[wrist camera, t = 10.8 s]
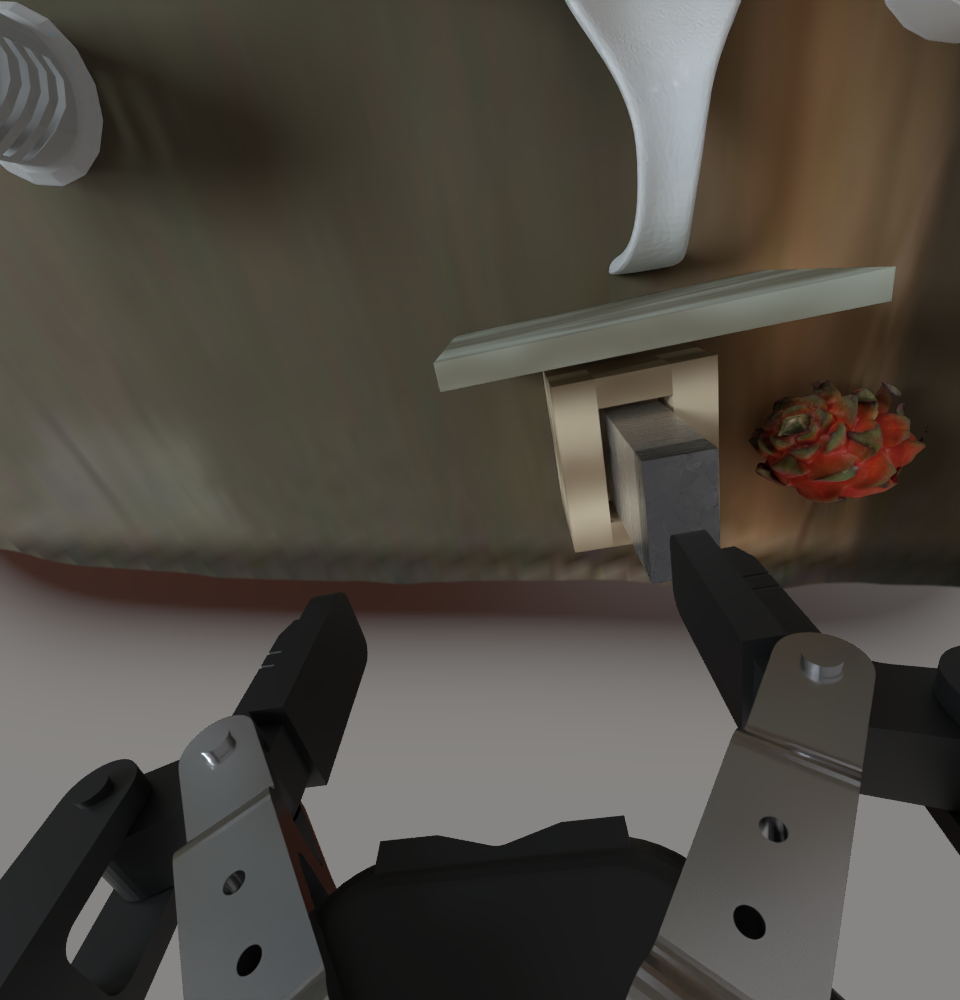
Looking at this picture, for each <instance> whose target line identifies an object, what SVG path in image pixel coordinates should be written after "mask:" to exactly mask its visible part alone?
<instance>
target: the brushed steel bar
mask: <svg viewBox="0 0 960 1000" xmlns="http://www.w3.org/2000/svg"><path fill="white" fill-rule="evenodd" d="M599 418H600V427H601V435H602V444H603V453H604V461H605V470H606V479H607V487H608V494H609V496H610V498H611V500H612V502H613V504H614V506H615V509H616V511H617V513H618V515H619V517H620V519H621V521H622V523H623V525H624V527H625V529H626V531H627V533H628V535H629V537H630V539H631V541H632V544H633V546H634V548H635V550H636V552H637V554H638V556H639V558H640V560H641V562H642V564H643V566H644V568H645V570H646V572H647V574H648V576H649V579H650V581H651V583H652V584H654V583H661V582H668V581H672V569H671V555H670V536H671V535H675V534H680V533H686V532H692V531H697V530H703V529H704V530H706V531H707V532H708V533H709V534H710V535H711V537H712V538H713V539H714V541H715V542H716V543H717V544H718V546H719V547H720V517H719V454H718V448H717V447H716V446H715V445H714V444H712V443H711V442H710V441H708V440H707V439H706V438H705V437H703V436H702V435H701V434H700V433H698V432H697V431H696V430H695V429H693V428H692V427H691V426H690V425H688V424H687V423H686V422H685V421H683V420H682V419H681V418H679V417H678V416H677V415H676V414H674V413H673V412H672V411H671V410H669V409H668V408H667V407H666V406H664V405H663V404H662V403H661V402H659V401H658V400H657V399H655V398H653V399H648V400H643V401H638V402H632V403H627V404H622V405H616V406H611V407H606V408H601V409H599Z"/></svg>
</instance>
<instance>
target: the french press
mask: <svg viewBox="0 0 960 1000" xmlns="http://www.w3.org/2000/svg"><path fill="white" fill-rule="evenodd" d="M102 127H103V117H102V113H101V108H100V103H99V99H98V94H97V89H96V85H95V83H94V81H93V79H92V77H91V75H90V73H89V71H88V70H87V68H86V66H85V64H84V62H83V60H82V58H81V56H80V54H79V53H78V51H77V49H76V48H75V47H74V46H73V44H72V43H71V42H70V41H69V40H68V39H67V38H66V37H65V36H64V35H63V34H62V33H61V32H60V31H59V30H58V29H57V28H56V27H55V25H54V24H53V23H52V22H51V21H50V20H49V19H47V18H45V17H43V16H42V15H40V14H38V13H36V12H34V11H32V10H30V9H29V8H27V7H25V6H23V5H21V4H19V3H17V2H4V1H0V164H1V165H2V166H3V167H4V168H5V169H7V170H8V171H9V172H12V173H14V174H16V175H18V176H20V177H22V178H24V179H26V180H28V181H30V182H32V183H34V184H36V185H52V186H65V185H67V184H69V183H71V182H73V181H75V180H77V179H79V178H81V177H83V176H85V175H86V173H87V172H88V170H89V169H90V167H91V165H92V164H93V162H94V161H95V159H96V157H97V156H98V154H99V153H100V144H101V136H102Z"/></svg>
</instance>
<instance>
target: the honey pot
mask: <svg viewBox="0 0 960 1000" xmlns="http://www.w3.org/2000/svg"><path fill="white" fill-rule="evenodd" d="M884 1H885V4H886V6H887V7H888V8H889V9H890V11H891V12H892V13H893V14H894V15H895V17H896V18H897V19H898V20H899V22H900V23H901V24H902V25H903V27H905V28H907V29H908V30H910V31H912V32H914V33H916V34H917V35H919V36H921V37H923V38H925V39H926V40H931V41H939V42H946V43H954V44H956V43H960V0H884Z"/></svg>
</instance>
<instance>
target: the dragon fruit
mask: <svg viewBox="0 0 960 1000" xmlns="http://www.w3.org/2000/svg"><path fill="white" fill-rule="evenodd" d="M812 386H813V391H812V392H811V394H810V395H807V396H804V397H802V398H799V397H784V398H782V399H780V400H778V401H777V402H775V403H774V407H773V413H772V414H770V415H769V416H768V418H767V419H766V421H765V426H764V428H759V429H755V431H754V432H753V433H752V435H751V438H750V439H749V442H750V444H751V445H752V446H753V447H754V449H755V450H756V451H757V453H758V454H759V455H760V456H763V457H766V458H767V461H766V462H765V463H759V464H758V465H757V468H756V470H755V472H756V473H757V474H759V475H760V476H763V477H764V478H766V479H768V480H770V481H773V482H774V483H776V484H778V485H781V486H793V487H794V488H796V490H797V492H798V493H799V494H801V495H802V496H804V497H805V498H807V499H809V500H811V501H814V502H820V503H830V502H832V503H837V502H842V501H845V500H846V499H845V498H844V497H852V498H861V497H864V496H867V495H872V494H876V493H880V492H884V491H887V490H888V489H890V488H891V487H893V486H895V485H896V484H898V481H897V475H898V474H899V473H900V471H901V470H902V468H903V466H905V465H907V464H908V463H910V462H911V461H913V459H914V457H915V456H916V454H917V453H919V452H921V450H923V449H924V448H925V442H923V437H922V438H921V439H920V440H919V441H918V440H917V439H916V437H915V436H914V435H913V434H912V433H910V419H908V418H907V417H906V416H904V409H905V403H900V404H898V406H897V409H896V413H897V414H894V413H887V412H888V410H889V408H890V406H891V404H892V394H894V395H896V396H901V392H900V391H899V390H898V389H897V388H896V387H894V386H893V385H890V384H888V383H885V382H882V385H881V387H880V389H879V390H878V392H877V393H876V396H874V395H873V394H872V393H871V392H870V390H869V389H867V388H860V389H857V390H855V391H854V392H853V393H852V394H851V395H848V396H843V397H842V395H841V393H840V391H839V390H838V389H837V387H835V386H834V385H833V383H832V382H831V381H829V380H824V381H818V382H815V383H812ZM925 428H926V427H925ZM927 428H928V427H927ZM926 432H927V431H926Z"/></svg>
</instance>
